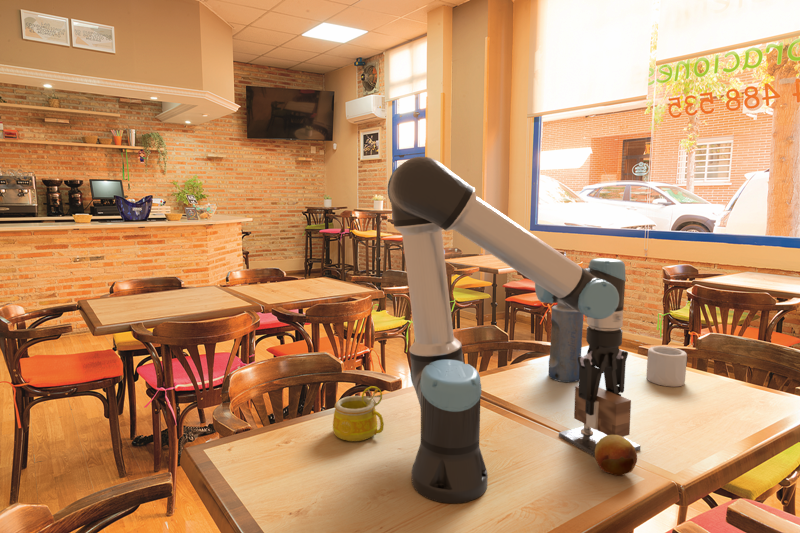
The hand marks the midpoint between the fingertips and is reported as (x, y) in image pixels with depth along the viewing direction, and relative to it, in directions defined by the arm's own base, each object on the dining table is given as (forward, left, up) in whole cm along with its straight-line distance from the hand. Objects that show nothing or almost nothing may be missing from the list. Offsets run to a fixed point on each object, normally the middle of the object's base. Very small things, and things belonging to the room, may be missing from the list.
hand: (600, 424), depth 115 cm
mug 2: (+52, +22, -5) cm, 57 cm away
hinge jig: (0, 0, -4) cm, 4 cm away
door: (0, 0, 0) cm, 0 cm away
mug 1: (-49, +28, -5) cm, 57 cm away
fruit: (-8, -11, -5) cm, 14 cm away
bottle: (+25, +37, -5) cm, 45 cm away
